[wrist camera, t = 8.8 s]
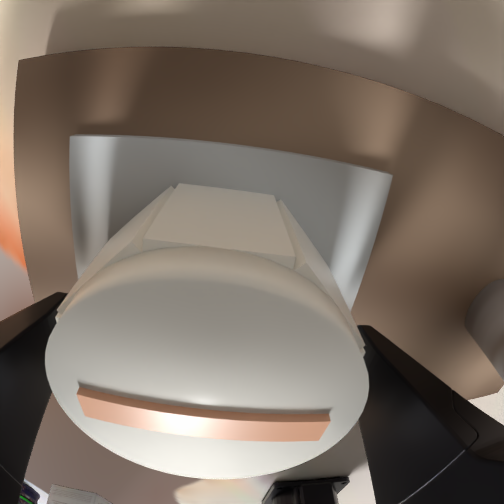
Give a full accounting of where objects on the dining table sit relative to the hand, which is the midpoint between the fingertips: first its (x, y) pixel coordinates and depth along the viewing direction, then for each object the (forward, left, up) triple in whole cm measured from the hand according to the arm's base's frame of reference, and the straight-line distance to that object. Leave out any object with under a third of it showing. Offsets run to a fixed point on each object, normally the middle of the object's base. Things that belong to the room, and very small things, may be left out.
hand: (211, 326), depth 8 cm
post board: (0, -6, -3) cm, 7 cm away
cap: (0, 0, -1) cm, 1 cm away
